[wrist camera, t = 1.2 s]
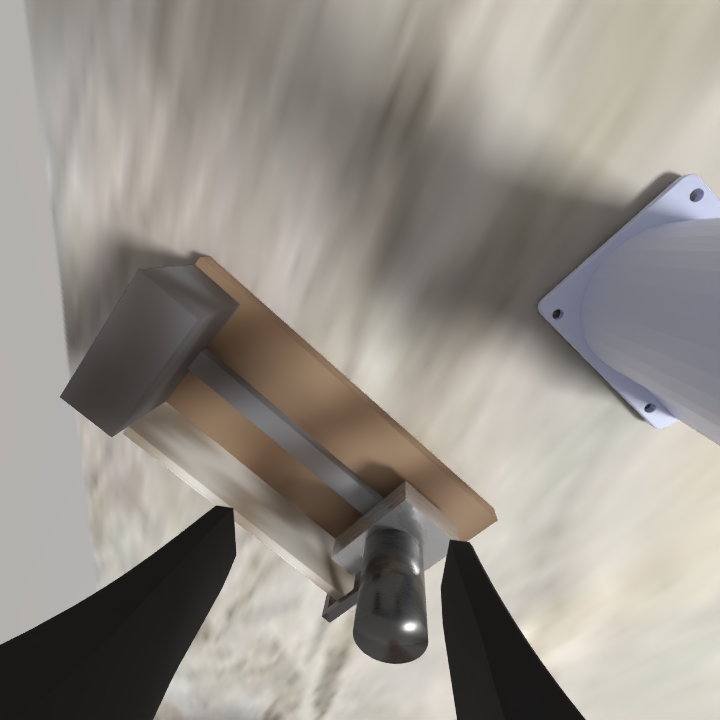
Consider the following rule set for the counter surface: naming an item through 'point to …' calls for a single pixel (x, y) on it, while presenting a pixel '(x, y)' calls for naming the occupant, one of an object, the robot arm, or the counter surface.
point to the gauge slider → (391, 573)
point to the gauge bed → (255, 417)
